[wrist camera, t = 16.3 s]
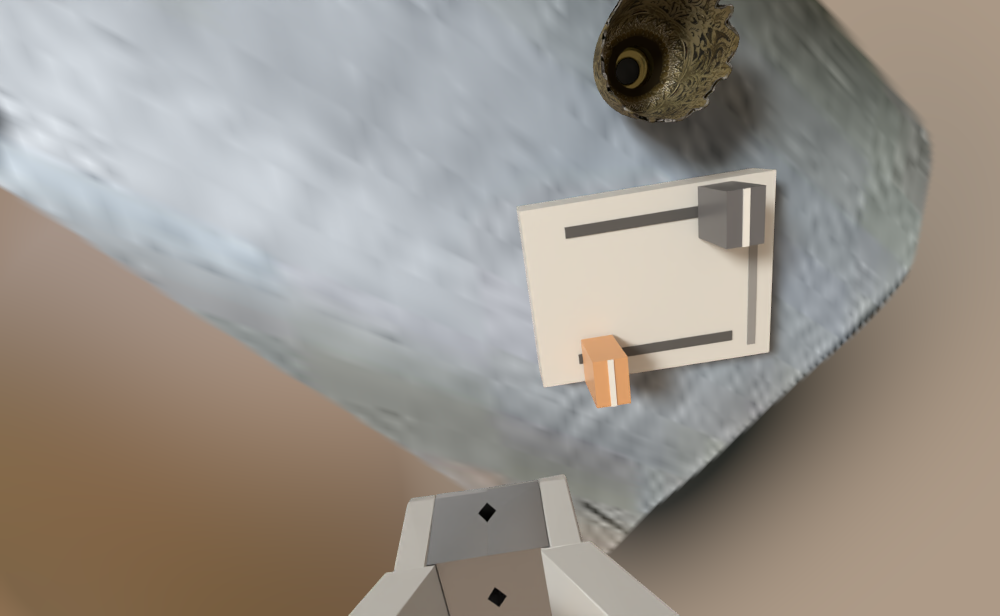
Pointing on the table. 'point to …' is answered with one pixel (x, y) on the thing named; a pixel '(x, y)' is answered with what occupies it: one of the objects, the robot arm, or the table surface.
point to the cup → (665, 56)
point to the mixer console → (644, 278)
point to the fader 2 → (732, 214)
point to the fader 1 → (606, 371)
